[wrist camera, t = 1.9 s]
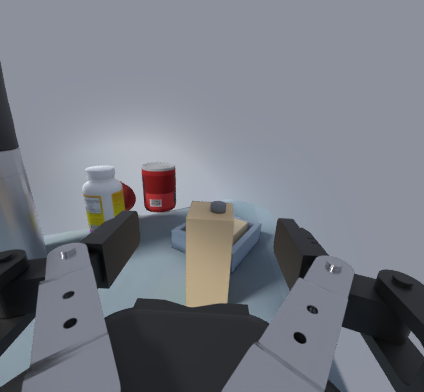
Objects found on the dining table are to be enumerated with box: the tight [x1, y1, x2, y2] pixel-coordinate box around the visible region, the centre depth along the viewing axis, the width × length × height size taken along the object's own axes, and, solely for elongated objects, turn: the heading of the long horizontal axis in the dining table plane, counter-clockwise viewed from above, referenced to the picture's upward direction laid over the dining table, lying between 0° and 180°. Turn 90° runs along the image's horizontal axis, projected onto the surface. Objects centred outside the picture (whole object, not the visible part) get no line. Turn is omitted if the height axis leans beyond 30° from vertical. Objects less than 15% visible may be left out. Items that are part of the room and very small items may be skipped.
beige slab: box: [232, 218, 248, 246], centre depth 38 cm, size 8×8×3 cm
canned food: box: [142, 162, 176, 212], centre depth 52 cm, size 8×8×11 cm
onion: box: [120, 181, 136, 211], centre depth 49 cm, size 6×6×8 cm
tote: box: [171, 216, 261, 274], centre depth 39 cm, size 12×12×4 cm
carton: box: [186, 201, 234, 307], centre depth 26 cm, size 5×5×13 cm
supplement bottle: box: [82, 166, 125, 233], centre depth 40 cm, size 7×7×13 cm
